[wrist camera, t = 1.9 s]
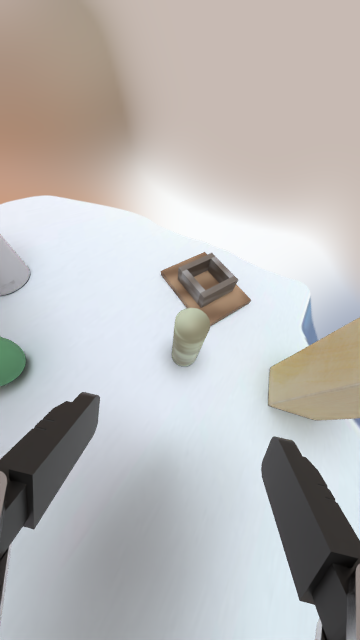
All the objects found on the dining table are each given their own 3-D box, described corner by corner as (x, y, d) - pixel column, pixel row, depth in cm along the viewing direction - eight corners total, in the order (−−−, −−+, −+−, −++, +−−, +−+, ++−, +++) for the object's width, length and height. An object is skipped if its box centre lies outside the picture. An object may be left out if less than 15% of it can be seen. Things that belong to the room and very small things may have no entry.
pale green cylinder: (167, 350, 35) (168, 317, 24) (187, 338, 36) (196, 302, 26) (180, 371, 33) (188, 345, 22) (201, 358, 34) (217, 327, 24)
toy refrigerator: (314, 376, 34) (487, 318, 16) (317, 421, 31) (543, 412, 12) (269, 363, 35) (386, 292, 16) (267, 405, 31) (413, 375, 13)
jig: (161, 274, 43) (160, 258, 39) (203, 255, 47) (207, 239, 43) (204, 329, 37) (208, 317, 33) (248, 303, 41) (258, 289, 37)
